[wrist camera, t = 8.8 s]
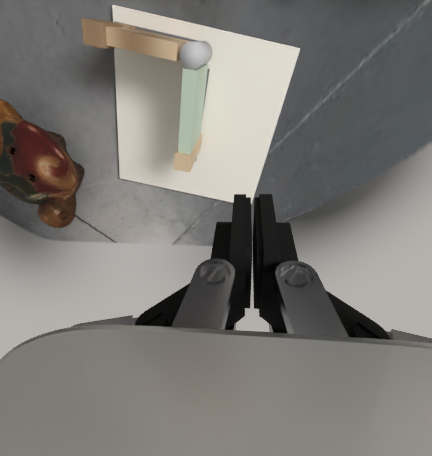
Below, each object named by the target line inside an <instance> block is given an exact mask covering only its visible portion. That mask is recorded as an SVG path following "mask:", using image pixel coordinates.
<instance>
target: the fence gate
mask: <svg viewBox="0 0 432 456" xmlns="http://www.w3.org/2000/svg"><path fill="white" fill-rule="evenodd" d="M212 53H213V52H212V47H211V45H210V44H209V43H208V42H206V41H194V42H187V43H185V44H184V45H183V46H182V48H181V50H180V60H181V62H182V64H183V65H184V68H183V74H182V91H181V108H180V125H179V142H178V149H177V151H176V152H175V155H174V170H179V171H185V172H190V171H191V169H192V167H193V165H194V162H195V160H196V158H197V156H198V153H199V151H200V149H201V142H202V134H201V126H202V117H203V108H204V99H205V89H206V80H207V71H208V64H205V63H207V62H208V61H209V60H210V59H211V57H212Z"/></svg>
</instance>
